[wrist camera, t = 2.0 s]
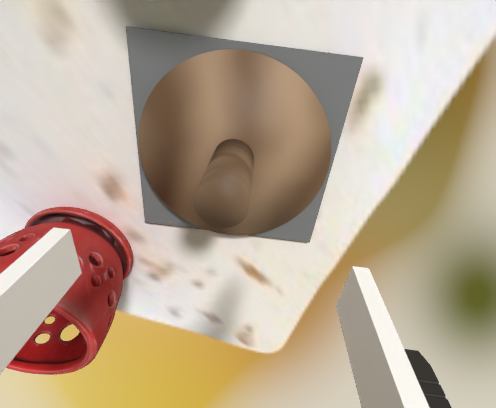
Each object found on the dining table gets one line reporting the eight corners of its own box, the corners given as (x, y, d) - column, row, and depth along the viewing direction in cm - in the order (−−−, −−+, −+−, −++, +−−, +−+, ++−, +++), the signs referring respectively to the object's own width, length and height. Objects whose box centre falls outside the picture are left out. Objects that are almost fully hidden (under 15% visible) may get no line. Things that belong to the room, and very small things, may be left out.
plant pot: (36, 266, 35) (-58, 361, 25) (29, 179, 29) (-101, 259, 19) (138, 294, 37) (89, 393, 27) (154, 218, 30) (97, 310, 20)
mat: (146, 220, 31) (145, 222, 30) (128, 26, 21) (125, 26, 21) (309, 240, 31) (309, 242, 30) (361, 57, 21) (363, 57, 21)
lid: (149, 218, 30) (109, 281, 22) (133, 35, 21) (57, 34, 13) (305, 238, 30) (319, 307, 22) (354, 64, 21) (404, 80, 14)
